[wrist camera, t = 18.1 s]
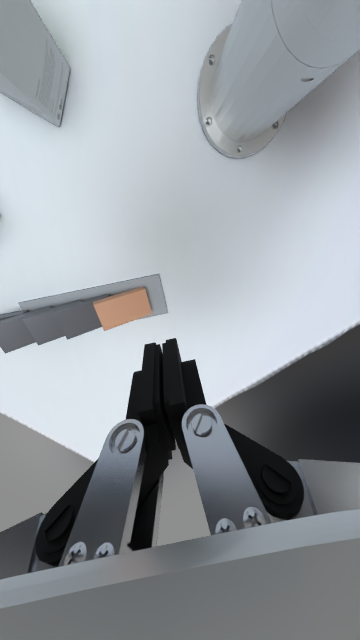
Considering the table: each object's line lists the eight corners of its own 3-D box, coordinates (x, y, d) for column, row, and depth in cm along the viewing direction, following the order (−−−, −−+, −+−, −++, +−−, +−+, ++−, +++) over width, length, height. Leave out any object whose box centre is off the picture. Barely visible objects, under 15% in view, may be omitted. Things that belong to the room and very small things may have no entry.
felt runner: (159, 273, 35) (159, 274, 35) (167, 312, 39) (167, 313, 39) (19, 302, 35) (18, 303, 34) (41, 338, 38) (40, 339, 38)
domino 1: (21, 314, 33) (-28, 323, 34) (36, 337, 36) (-10, 346, 36) (28, 309, 35) (-18, 318, 35) (42, 332, 37) (-2, 340, 38)
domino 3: (81, 301, 34) (22, 320, 30) (92, 325, 36) (38, 345, 33) (80, 299, 35) (24, 316, 32) (90, 322, 38) (39, 340, 34)
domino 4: (109, 296, 34) (53, 313, 30) (118, 320, 36) (67, 339, 33) (107, 293, 35) (54, 310, 32) (116, 317, 38) (67, 334, 34)
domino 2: (50, 308, 34) (-14, 328, 30) (62, 331, 36) (5, 353, 32) (50, 305, 35) (-11, 324, 31) (62, 328, 38) (7, 348, 34)
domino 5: (145, 288, 34) (93, 305, 31) (152, 313, 36) (104, 330, 33) (142, 286, 36) (92, 301, 33) (148, 310, 38) (103, 326, 35)
